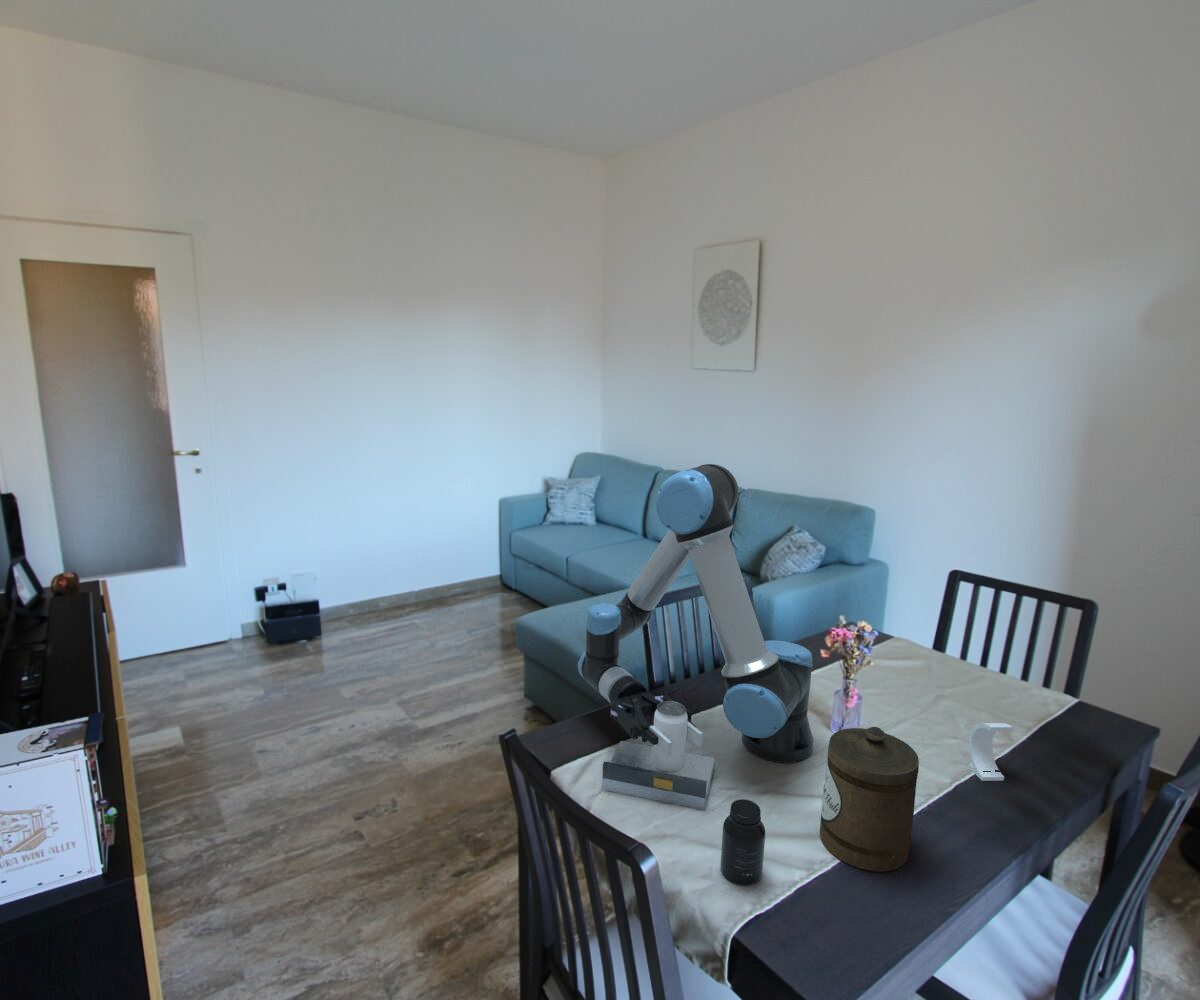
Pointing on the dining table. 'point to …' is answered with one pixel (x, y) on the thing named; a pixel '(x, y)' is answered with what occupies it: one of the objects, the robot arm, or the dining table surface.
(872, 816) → the wooden container
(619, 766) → the grey tray
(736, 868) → the supplement bottle
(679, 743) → the can
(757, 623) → the robot arm
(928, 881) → the dining table surface
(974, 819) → the dining table surface
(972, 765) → the headphone stand
